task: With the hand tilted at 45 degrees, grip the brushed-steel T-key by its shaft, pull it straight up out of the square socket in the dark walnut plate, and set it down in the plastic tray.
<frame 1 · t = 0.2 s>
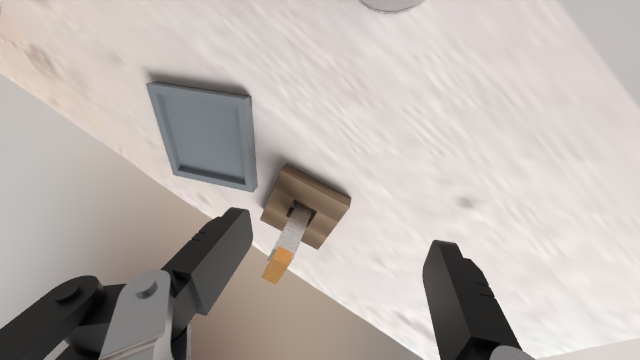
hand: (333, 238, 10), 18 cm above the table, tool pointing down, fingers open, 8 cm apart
socket plate: (305, 205, 33), on the table
tray: (211, 138, 31), on the table
key: (292, 232, 28), in the socket plate
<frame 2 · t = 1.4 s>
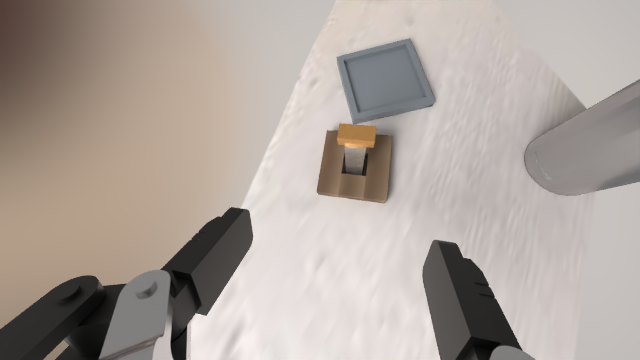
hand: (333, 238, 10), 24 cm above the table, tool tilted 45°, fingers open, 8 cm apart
socket plate: (354, 167, 35), on the table
tray: (381, 83, 39), on the table
key: (355, 153, 30), in the socket plate
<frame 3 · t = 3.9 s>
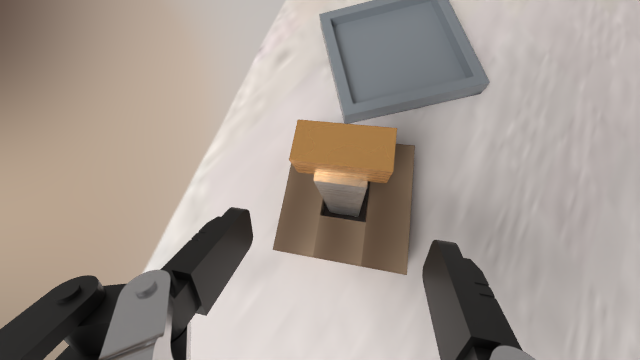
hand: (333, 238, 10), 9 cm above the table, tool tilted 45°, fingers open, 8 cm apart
socket plate: (345, 201, 20), on the table
tray: (392, 57, 24), on the table
key: (344, 183, 14), in the socket plate
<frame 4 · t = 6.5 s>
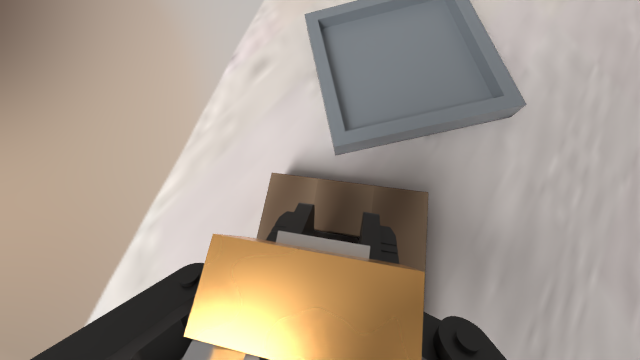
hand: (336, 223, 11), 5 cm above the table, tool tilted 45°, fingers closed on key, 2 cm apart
socket plate: (335, 261, 15), on the table
tray: (396, 68, 19), on the table
key: (328, 270, 9), in the socket plate, touching gripper
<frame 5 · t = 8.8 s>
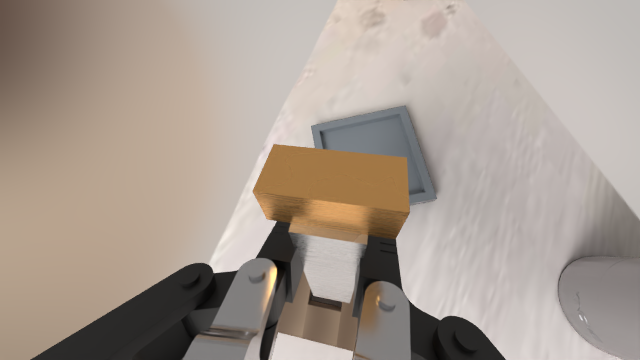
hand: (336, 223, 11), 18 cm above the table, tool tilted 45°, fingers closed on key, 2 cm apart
socket plate: (328, 286, 26), on the table
tray: (367, 163, 30), on the table
key: (333, 249, 11), point 17 cm above the table, tilted 21°, touching gripper
when the fingers open (7 cm above the table, at t = 11.5 s): key drops 4 cm and tips over, resting on tray.
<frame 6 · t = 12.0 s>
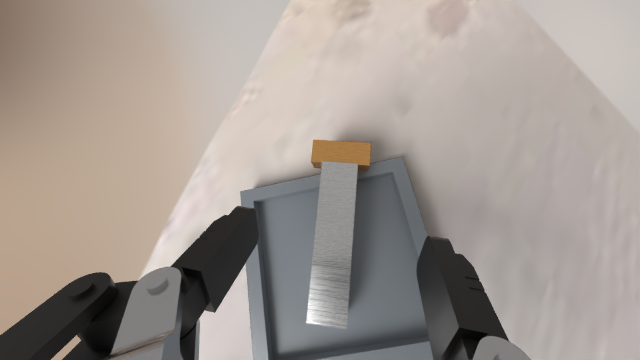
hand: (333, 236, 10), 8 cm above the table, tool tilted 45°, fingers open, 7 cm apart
tray: (337, 259, 17), on the table
key: (335, 225, 15), point 2 cm above the table, tilted 85°, touching tray
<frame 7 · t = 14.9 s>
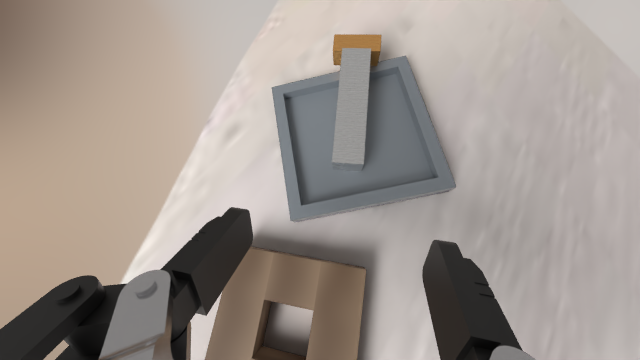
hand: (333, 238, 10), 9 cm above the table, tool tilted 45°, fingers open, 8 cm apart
socket plate: (290, 324, 17), on the table
tray: (352, 139, 21), on the table
key: (352, 101, 19), point 2 cm above the table, tilted 85°, touching tray
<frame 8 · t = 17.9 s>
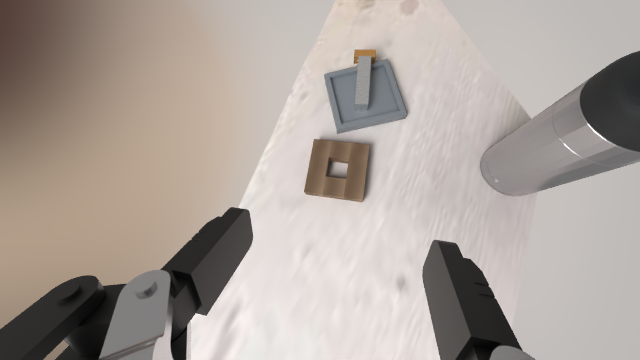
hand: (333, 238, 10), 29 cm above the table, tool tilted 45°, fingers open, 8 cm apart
socket plate: (337, 171, 41), on the table
tray: (362, 97, 45), on the table
key: (363, 79, 43), point 2 cm above the table, tilted 85°, touching tray
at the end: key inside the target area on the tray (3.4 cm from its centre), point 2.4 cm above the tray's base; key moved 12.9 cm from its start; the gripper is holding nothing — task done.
